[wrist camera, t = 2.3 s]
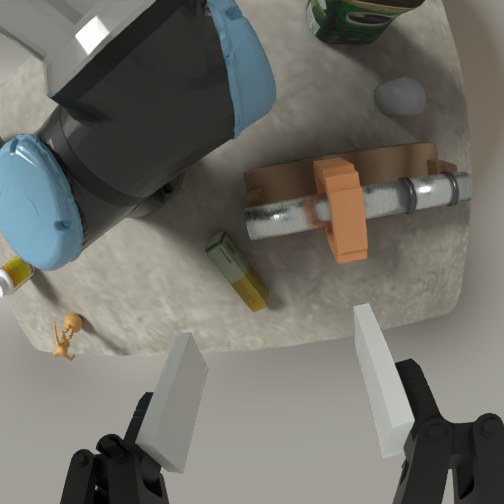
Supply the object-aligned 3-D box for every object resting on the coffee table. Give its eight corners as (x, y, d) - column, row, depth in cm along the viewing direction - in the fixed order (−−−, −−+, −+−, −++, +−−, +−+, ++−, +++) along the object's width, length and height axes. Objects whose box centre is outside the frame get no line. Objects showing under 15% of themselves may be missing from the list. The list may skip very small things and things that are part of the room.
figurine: (63, 301, 49) (31, 336, 39) (82, 299, 49) (50, 337, 38) (80, 332, 53) (53, 370, 42) (99, 333, 52) (73, 373, 41)
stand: (260, 234, 41) (257, 255, 35) (244, 171, 37) (238, 181, 31) (435, 201, 36) (459, 215, 30) (431, 141, 33) (456, 147, 27)
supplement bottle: (21, 247, 45) (-11, 270, 36) (37, 263, 46) (6, 289, 37) (17, 264, 47) (-12, 288, 38) (33, 280, 48) (5, 306, 39)
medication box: (209, 237, 42) (202, 250, 38) (224, 228, 41) (219, 240, 37) (255, 298, 46) (253, 314, 42) (269, 291, 45) (269, 306, 41)
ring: (324, 234, 36) (340, 270, 27) (311, 159, 32) (325, 173, 24) (347, 230, 36) (369, 265, 27) (336, 155, 32) (358, 167, 23)
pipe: (254, 235, 34) (252, 249, 30) (246, 201, 32) (242, 212, 28) (456, 197, 29) (474, 207, 26) (455, 166, 28) (474, 173, 24)
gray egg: (378, 117, 32) (395, 117, 27) (370, 83, 31) (387, 77, 25) (408, 114, 32) (429, 115, 26) (401, 81, 30) (421, 76, 24)
